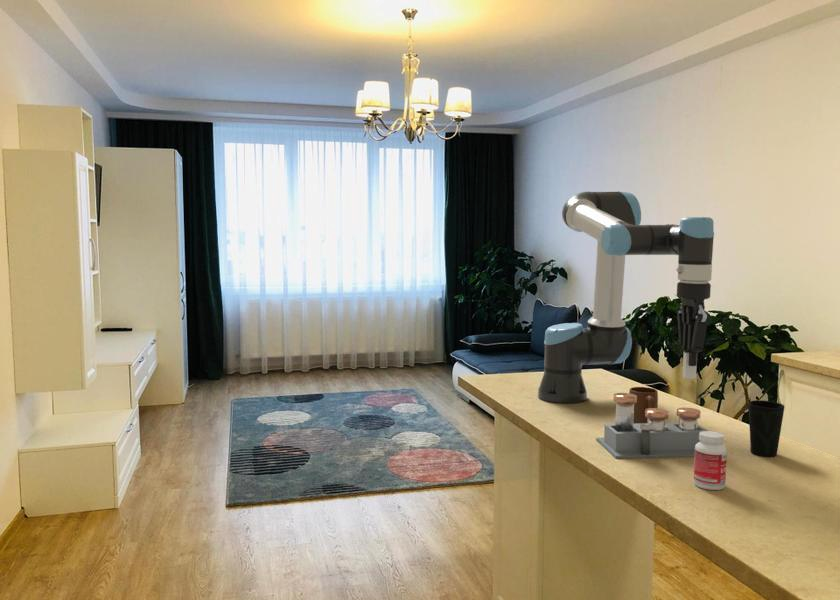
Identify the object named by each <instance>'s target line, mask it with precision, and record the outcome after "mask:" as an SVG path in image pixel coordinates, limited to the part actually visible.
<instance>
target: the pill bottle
mask: <svg viewBox="0 0 840 600" xmlns="http://www.w3.org/2000/svg"><path fill="white" fill-rule="evenodd" d="M724 437H725V436H724V434H722V432H721V433H720V432H717V431H710V430H708V431H702V432H700V433H699V440H700V442H698V443H697V444H696V445H695V457H694V460H693V461H694V463H693V484H694V485H695V486H696V487H698V488H700V489H704V490H709V491H720V490H723V489H724V488H725V486H726V479H727V474H726V473H727V457H728V456H727V454H728V452H727V447H726V446H725V445H724V444H723V443H724Z"/></svg>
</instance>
